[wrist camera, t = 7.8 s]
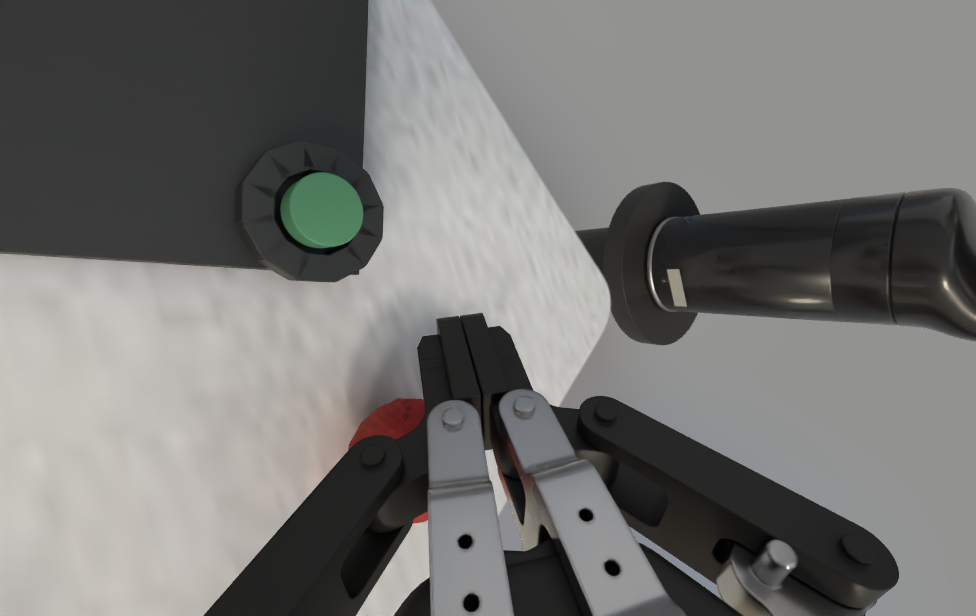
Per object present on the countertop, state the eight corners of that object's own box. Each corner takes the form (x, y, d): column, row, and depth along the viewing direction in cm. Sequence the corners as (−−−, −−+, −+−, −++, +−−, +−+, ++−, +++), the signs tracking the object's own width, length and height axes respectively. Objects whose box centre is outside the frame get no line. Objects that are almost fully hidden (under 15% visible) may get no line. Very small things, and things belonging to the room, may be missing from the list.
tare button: (351, 185, 20) (365, 180, 19) (349, 251, 20) (362, 249, 19) (280, 172, 18) (290, 164, 17) (278, 244, 18) (288, 242, 17)
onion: (364, 367, 24) (443, 400, 17) (438, 410, 27) (527, 451, 20) (302, 468, 22) (365, 545, 16) (389, 502, 25) (470, 577, 19)
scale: (365, 6, 22) (392, -28, 20) (355, 283, 23) (381, 284, 21) (-191, -253, 12) (-276, -388, 10) (-184, 257, 13) (-265, 252, 10)
